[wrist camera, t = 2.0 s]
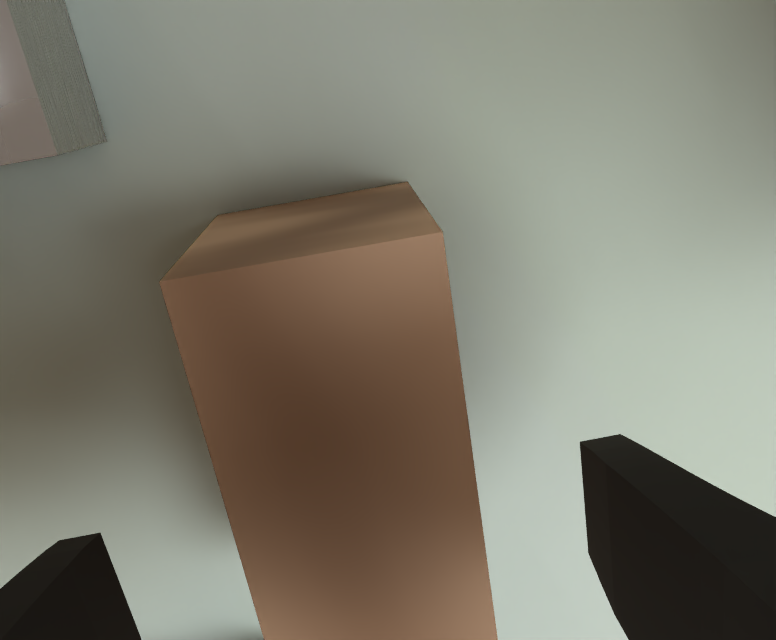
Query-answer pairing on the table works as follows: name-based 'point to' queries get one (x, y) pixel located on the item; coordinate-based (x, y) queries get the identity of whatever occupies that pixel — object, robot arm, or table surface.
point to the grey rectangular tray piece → (43, 84)
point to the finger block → (337, 416)
